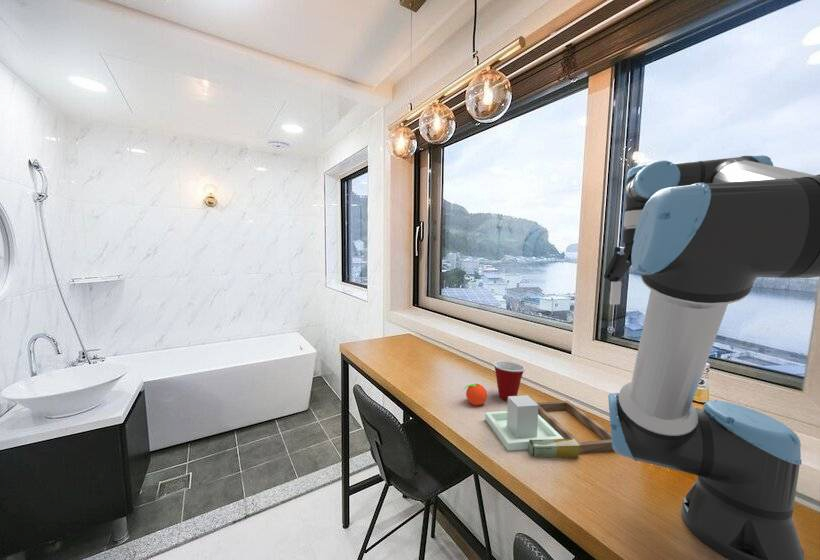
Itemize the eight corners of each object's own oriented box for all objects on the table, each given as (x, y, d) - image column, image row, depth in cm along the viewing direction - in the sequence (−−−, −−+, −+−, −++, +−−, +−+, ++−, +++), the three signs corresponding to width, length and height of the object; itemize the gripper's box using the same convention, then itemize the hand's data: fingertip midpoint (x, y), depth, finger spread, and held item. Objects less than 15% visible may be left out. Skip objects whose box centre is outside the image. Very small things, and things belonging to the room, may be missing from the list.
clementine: (464, 409, 103) (464, 388, 102) (461, 399, 110) (461, 379, 109) (488, 409, 103) (489, 388, 102) (484, 399, 110) (484, 379, 109)
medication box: (531, 460, 79) (532, 446, 78) (527, 452, 81) (528, 438, 80) (579, 459, 79) (580, 445, 78) (573, 451, 81) (574, 437, 81)
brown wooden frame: (621, 450, 82) (622, 441, 82) (578, 454, 80) (579, 445, 80) (567, 407, 104) (567, 400, 104) (532, 410, 103) (532, 403, 102)
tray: (563, 449, 83) (563, 438, 82) (507, 454, 80) (508, 443, 80) (532, 418, 98) (532, 409, 97) (485, 421, 96) (485, 412, 95)
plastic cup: (530, 398, 111) (531, 365, 110) (513, 408, 104) (514, 373, 103) (503, 387, 119) (504, 357, 118) (486, 396, 112) (487, 363, 111)
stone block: (537, 436, 86) (538, 405, 86) (516, 438, 86) (517, 406, 85) (526, 424, 92) (527, 395, 91) (506, 426, 91) (507, 396, 91)
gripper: (704, 224, 70) (695, 318, 72) (615, 231, 94) (611, 300, 96) (675, 223, 69) (667, 319, 71) (593, 230, 93) (588, 301, 95)
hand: (634, 308), depth 84 cm, fingers open, 13 cm apart
